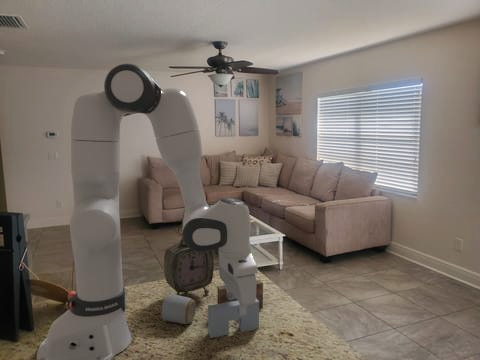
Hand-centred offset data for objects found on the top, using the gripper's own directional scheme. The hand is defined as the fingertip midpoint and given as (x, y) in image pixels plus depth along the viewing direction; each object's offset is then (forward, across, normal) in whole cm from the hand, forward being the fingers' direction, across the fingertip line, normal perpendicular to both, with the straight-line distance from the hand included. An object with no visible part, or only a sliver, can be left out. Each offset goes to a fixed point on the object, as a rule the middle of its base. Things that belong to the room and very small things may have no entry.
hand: (236, 306), depth 105 cm
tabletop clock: (+7, -26, -8) cm, 28 cm away
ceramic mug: (+7, -12, -13) cm, 19 cm away
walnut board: (+7, -11, +5) cm, 14 cm away
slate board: (+7, 0, -1) cm, 7 cm away
